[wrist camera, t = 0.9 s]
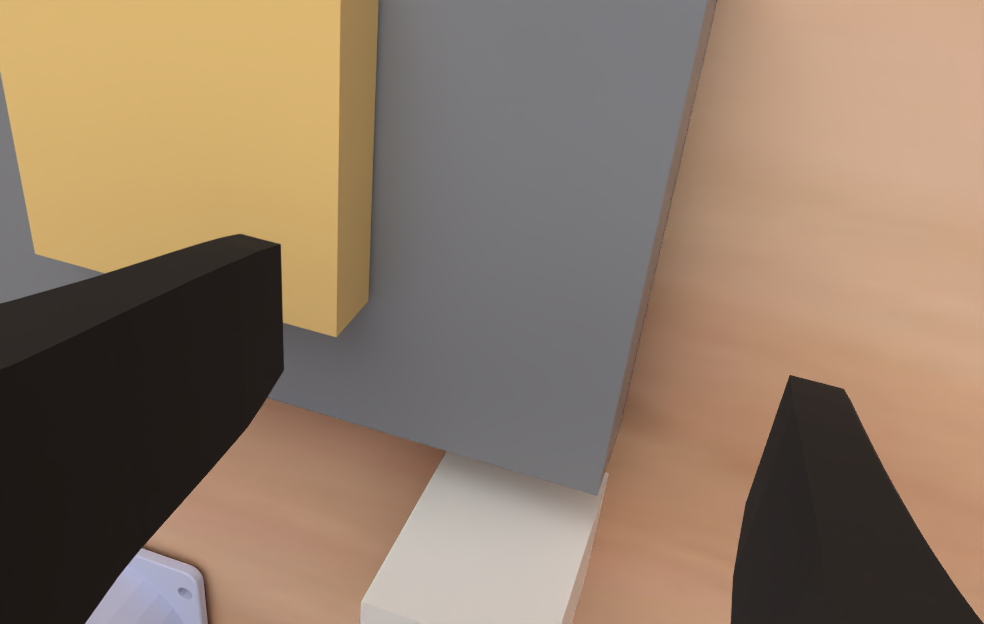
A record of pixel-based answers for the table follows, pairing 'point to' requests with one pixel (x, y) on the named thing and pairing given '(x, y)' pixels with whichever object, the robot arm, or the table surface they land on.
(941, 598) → the robot arm
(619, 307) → the socket plate
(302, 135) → the yellow flat square block
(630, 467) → the table surface
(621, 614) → the table surface
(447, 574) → the plug
